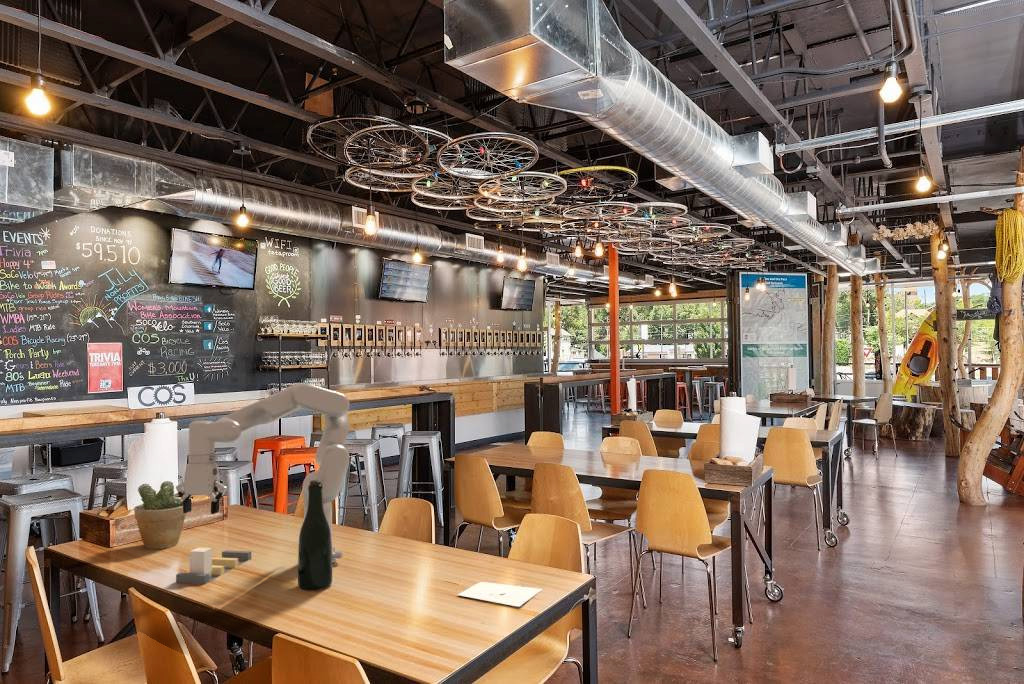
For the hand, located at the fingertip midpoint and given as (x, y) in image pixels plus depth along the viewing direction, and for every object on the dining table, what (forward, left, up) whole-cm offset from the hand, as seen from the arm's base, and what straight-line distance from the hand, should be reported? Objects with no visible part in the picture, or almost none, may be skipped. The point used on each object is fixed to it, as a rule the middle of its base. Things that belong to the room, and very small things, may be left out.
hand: (201, 512), depth 204 cm
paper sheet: (-99, -8, -23) cm, 102 cm away
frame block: (0, 0, -21) cm, 21 cm away
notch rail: (0, -8, -22) cm, 24 cm away
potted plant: (+42, -37, -22) cm, 60 cm away
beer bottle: (-38, -2, -22) cm, 44 cm away
